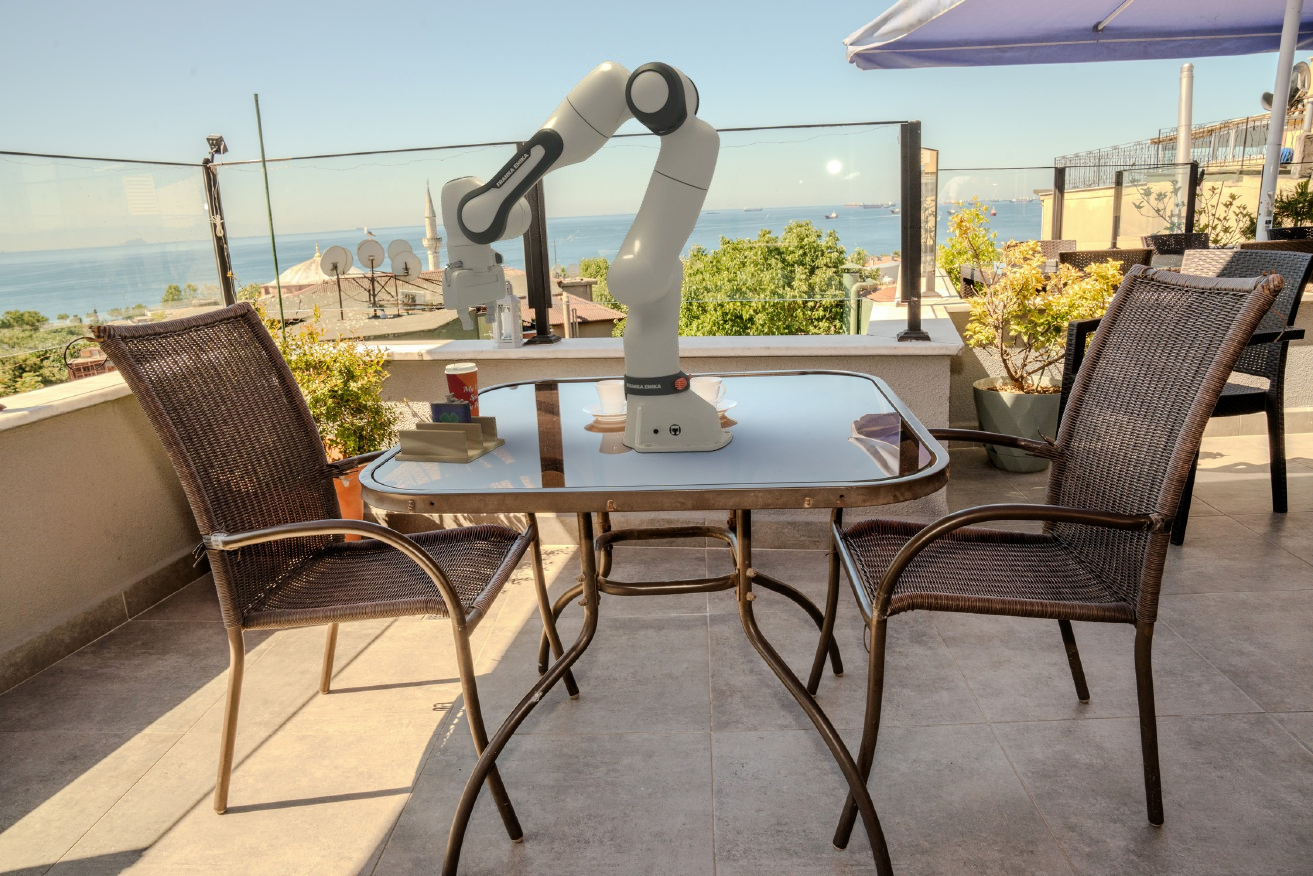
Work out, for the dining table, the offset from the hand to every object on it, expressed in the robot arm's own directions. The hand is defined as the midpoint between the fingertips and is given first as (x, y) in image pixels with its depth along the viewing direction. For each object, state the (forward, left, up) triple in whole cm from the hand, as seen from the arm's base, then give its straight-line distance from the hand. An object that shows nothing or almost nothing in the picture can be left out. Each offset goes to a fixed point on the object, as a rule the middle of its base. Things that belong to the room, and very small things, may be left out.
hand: (480, 326), depth 182 cm
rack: (+4, +10, -25) cm, 27 cm away
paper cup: (+14, -13, -25) cm, 31 cm away
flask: (+5, +7, -24) cm, 25 cm away
